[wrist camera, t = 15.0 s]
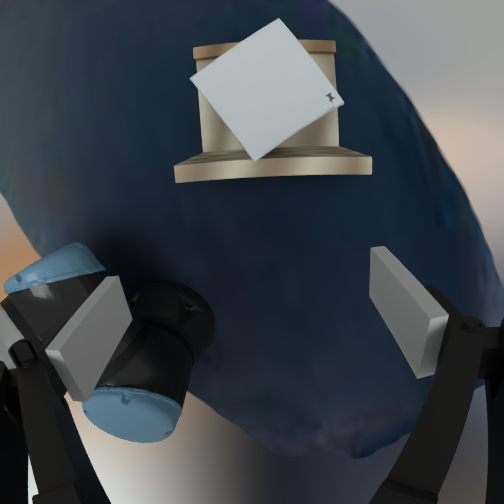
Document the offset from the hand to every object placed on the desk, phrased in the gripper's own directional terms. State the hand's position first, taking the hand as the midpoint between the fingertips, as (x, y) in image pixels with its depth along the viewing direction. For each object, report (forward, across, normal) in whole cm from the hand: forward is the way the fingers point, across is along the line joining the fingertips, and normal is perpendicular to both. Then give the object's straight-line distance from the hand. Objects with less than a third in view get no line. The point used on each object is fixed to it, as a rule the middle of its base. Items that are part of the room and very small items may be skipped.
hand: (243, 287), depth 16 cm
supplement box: (+29, +4, +11) cm, 31 cm away
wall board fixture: (+29, +4, +11) cm, 32 cm away
